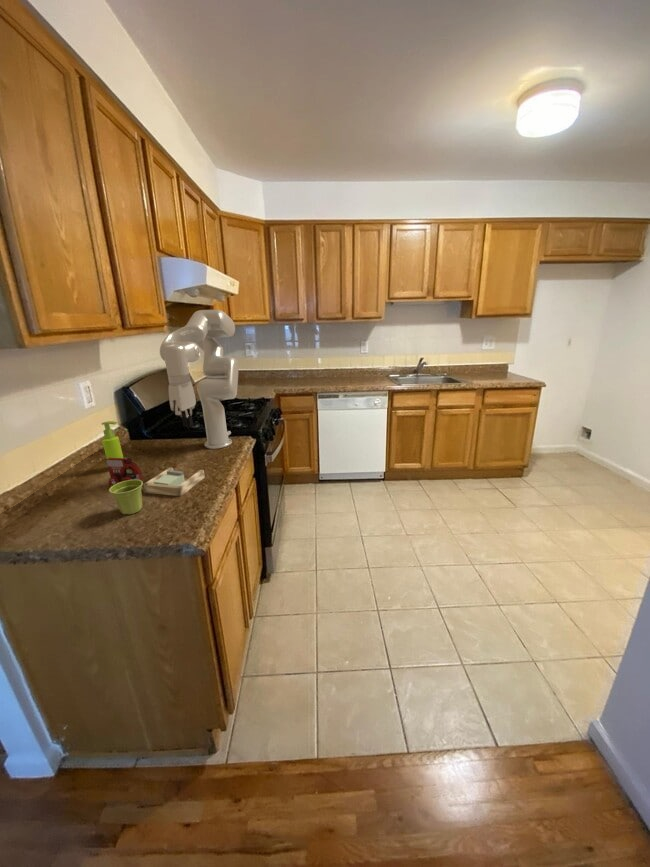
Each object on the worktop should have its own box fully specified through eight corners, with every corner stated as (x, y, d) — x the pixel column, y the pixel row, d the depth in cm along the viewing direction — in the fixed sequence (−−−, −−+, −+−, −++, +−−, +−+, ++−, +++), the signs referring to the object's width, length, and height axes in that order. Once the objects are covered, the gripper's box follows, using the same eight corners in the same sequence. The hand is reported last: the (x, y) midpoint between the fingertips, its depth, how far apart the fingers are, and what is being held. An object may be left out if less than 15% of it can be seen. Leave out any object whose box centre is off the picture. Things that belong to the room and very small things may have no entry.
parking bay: (170, 474, 139) (169, 467, 138) (204, 477, 135) (203, 470, 134) (144, 492, 125) (142, 484, 124) (181, 496, 122) (179, 488, 121)
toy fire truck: (136, 488, 128) (130, 462, 125) (105, 487, 130) (99, 461, 127) (148, 480, 135) (142, 455, 131) (118, 479, 136) (112, 454, 133)
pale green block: (171, 480, 134) (169, 469, 133) (185, 482, 132) (183, 471, 131) (155, 490, 127) (153, 479, 125) (170, 492, 125) (167, 481, 123)
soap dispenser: (123, 470, 144) (111, 423, 138) (106, 471, 144) (94, 424, 138) (130, 464, 150) (120, 419, 143) (114, 465, 150) (103, 420, 143)
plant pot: (111, 510, 114) (105, 486, 111) (141, 499, 120) (136, 476, 117) (121, 521, 108) (114, 496, 105) (152, 509, 114) (147, 485, 111)
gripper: (182, 375, 137) (190, 419, 144) (157, 383, 124) (167, 432, 130) (200, 375, 136) (207, 420, 142) (176, 384, 122) (185, 433, 129)
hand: (188, 426), depth 136 cm, fingers closed
